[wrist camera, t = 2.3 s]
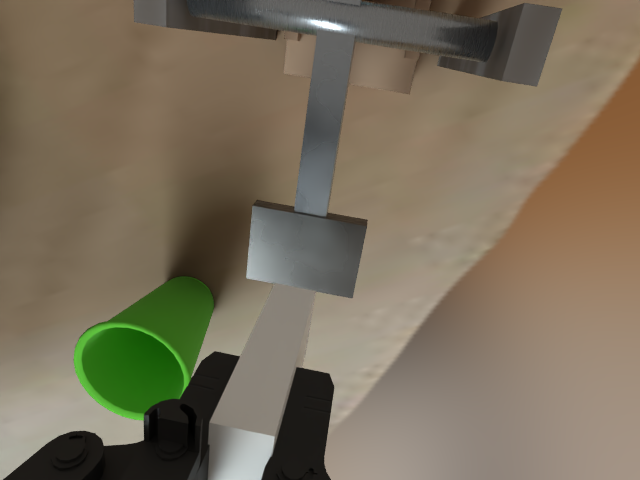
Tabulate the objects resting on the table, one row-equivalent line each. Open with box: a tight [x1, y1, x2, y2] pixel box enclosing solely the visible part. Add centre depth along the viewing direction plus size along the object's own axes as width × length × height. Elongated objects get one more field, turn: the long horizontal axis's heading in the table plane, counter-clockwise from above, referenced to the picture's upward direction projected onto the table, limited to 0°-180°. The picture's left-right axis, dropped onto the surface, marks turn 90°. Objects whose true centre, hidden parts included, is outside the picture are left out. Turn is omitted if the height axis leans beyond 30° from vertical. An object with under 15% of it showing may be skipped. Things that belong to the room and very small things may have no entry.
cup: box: [74, 276, 214, 420], centre depth 38 cm, size 9×9×11 cm
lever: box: [187, 0, 498, 298], centre depth 21 cm, size 11×19×12 cm, turn 172°
